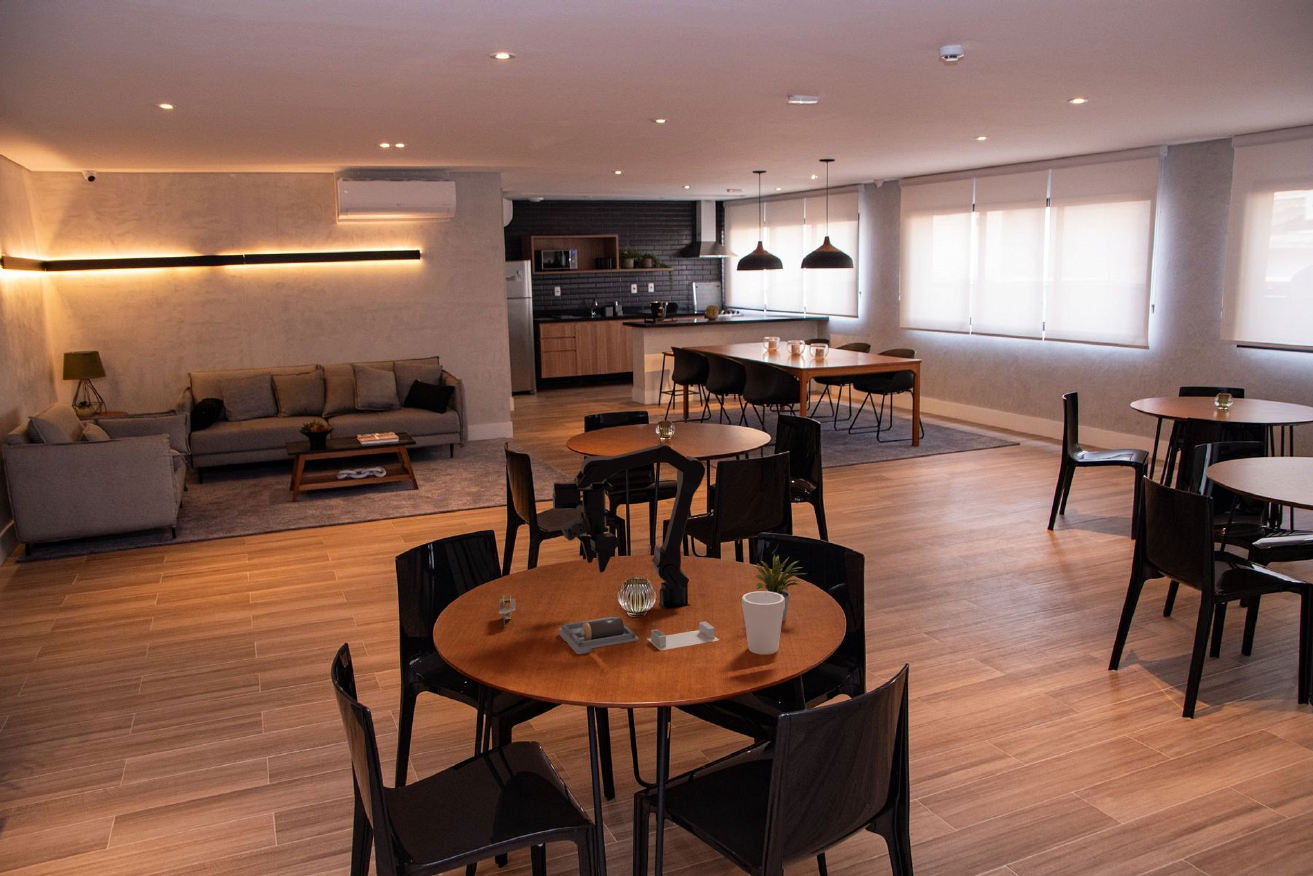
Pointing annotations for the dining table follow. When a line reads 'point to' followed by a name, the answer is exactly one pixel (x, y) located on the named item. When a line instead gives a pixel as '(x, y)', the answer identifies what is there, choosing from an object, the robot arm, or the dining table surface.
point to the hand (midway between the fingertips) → (595, 567)
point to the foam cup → (763, 620)
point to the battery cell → (602, 629)
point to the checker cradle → (683, 637)
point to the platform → (505, 610)
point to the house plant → (773, 582)
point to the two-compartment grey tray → (581, 646)
